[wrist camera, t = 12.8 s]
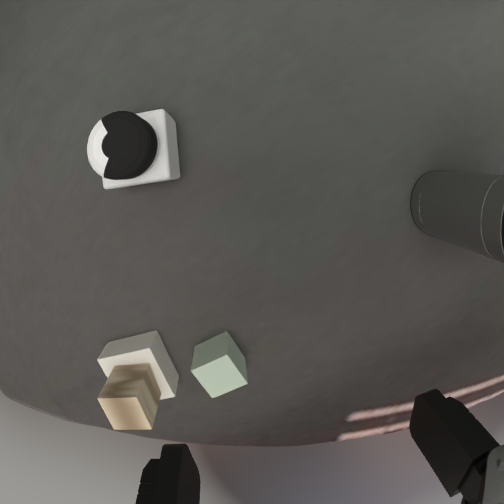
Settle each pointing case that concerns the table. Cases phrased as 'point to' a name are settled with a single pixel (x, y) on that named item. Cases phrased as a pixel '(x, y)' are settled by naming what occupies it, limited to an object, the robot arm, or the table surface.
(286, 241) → the table surface
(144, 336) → the cream base block
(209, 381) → the sage block
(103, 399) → the maple block
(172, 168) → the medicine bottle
